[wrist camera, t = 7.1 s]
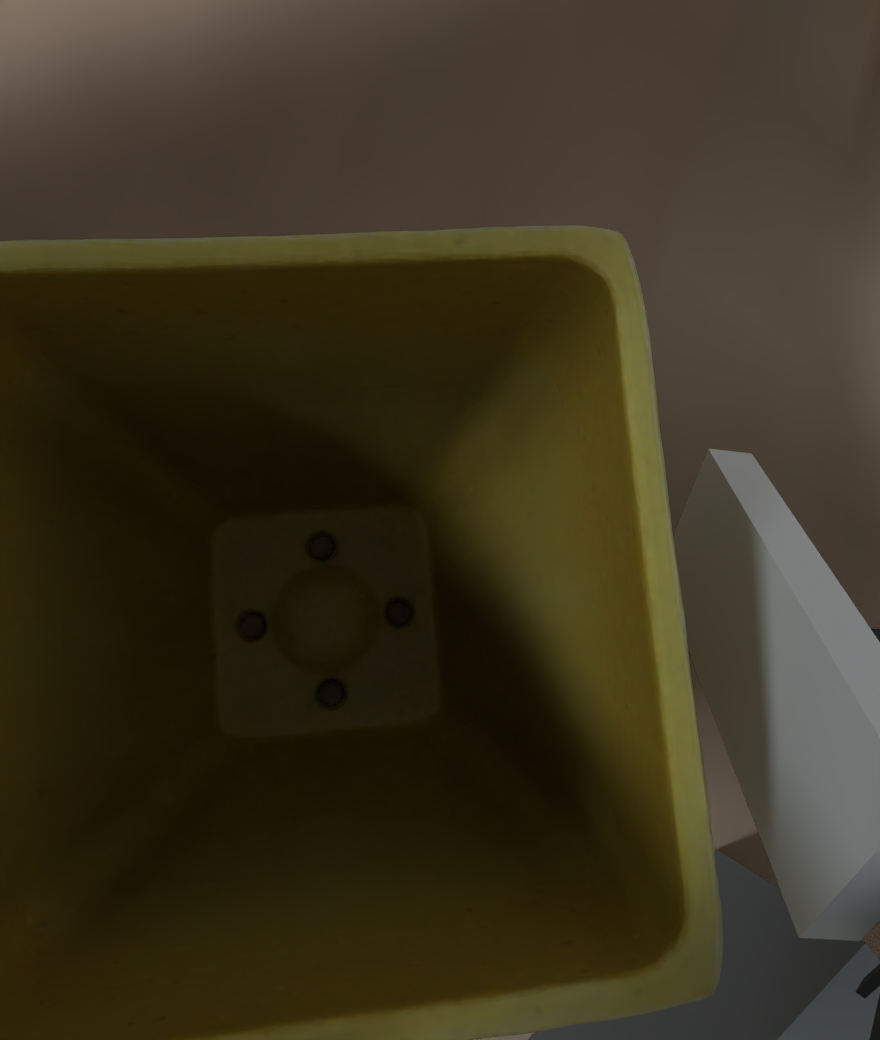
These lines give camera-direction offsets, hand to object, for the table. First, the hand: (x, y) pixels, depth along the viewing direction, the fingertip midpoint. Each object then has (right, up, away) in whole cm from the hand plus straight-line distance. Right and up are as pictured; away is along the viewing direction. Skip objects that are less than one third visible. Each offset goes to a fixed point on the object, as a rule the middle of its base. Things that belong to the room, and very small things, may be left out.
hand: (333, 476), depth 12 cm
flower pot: (-1, -3, +4) cm, 5 cm away
